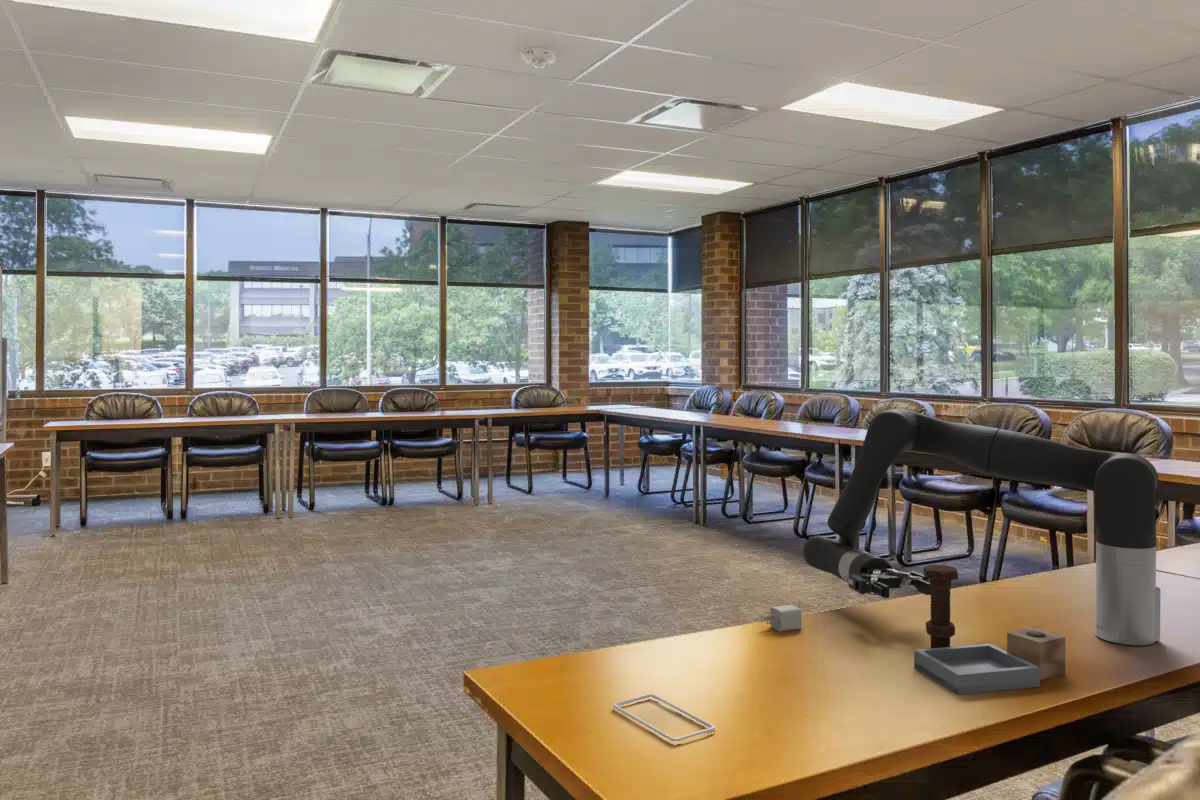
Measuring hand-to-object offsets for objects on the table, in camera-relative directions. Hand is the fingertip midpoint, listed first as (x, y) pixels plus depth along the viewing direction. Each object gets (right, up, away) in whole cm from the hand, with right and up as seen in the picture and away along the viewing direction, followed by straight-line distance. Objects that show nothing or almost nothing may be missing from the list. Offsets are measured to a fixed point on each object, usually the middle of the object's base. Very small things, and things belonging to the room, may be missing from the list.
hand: (909, 591), depth 158 cm
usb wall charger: (-22, -9, +6) cm, 25 cm away
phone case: (-48, -11, -36) cm, 61 cm away
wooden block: (+14, -9, -18) cm, 25 cm away
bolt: (+2, -9, -9) cm, 13 cm away
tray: (+3, -9, -20) cm, 22 cm away
